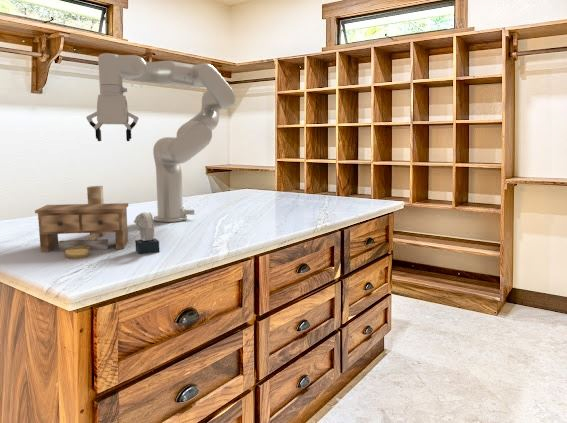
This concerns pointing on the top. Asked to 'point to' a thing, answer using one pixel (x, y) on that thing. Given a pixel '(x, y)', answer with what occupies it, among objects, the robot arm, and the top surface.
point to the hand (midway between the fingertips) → (113, 141)
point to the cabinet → (82, 222)
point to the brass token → (77, 252)
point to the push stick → (93, 198)
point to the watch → (146, 234)
